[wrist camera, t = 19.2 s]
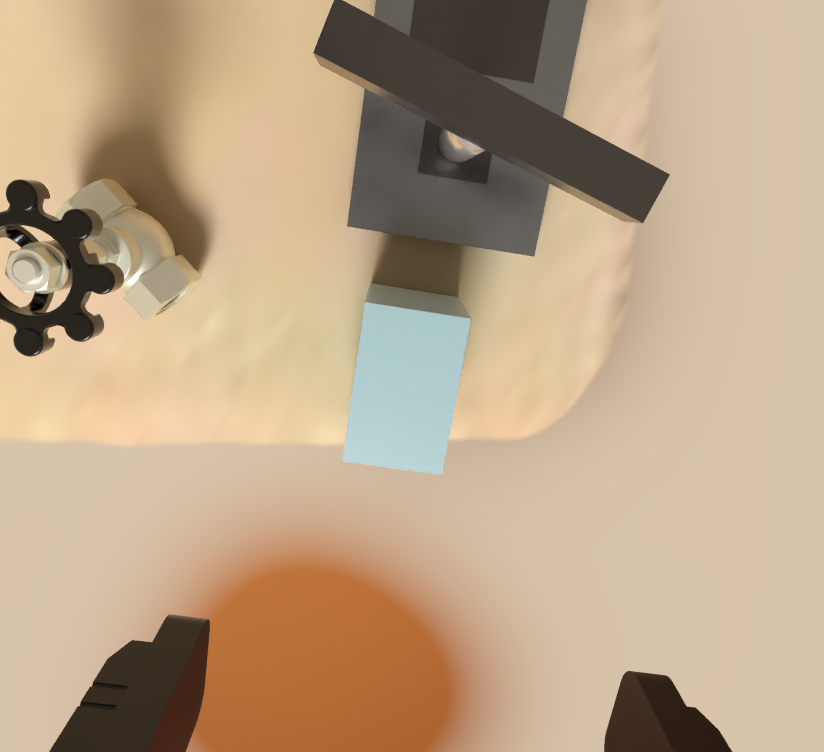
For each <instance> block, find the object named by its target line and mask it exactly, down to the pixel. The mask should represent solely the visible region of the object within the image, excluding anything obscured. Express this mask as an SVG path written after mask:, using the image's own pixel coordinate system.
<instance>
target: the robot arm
mask: <svg viewBox="0 0 824 752" xmlns="http://www.w3.org/2000/svg"><path fill="white" fill-rule="evenodd" d="M209 632H210V621H209V619H203V618H195V617H186V616H177V615H168V616H167V617H166V619H165V620H164V622H163V624H162V626H161V628H160V629H159V631H158V633H157V635H156V637H155V638H154V640H153V642H143V641H134V640H132V641H131V642H129V643H128V644H126V645H125V646H124V647H123V648H121V649H120V650H119V651H117V652H116V653H115V654H113V655H112V656H111V657H109V658H108V659H107V661H106V662H105V664H104V666H103V667H102V669H101V671H100V672H99V674H98V675H97V677H96V678H95V680H94V682H93V685H92V687H90V688H89V690H88V691H87V693H86V694H85V696H84V697H83V699H82V701H81V704H80V706H79V707H77V708H76V710H75V712H74V713H73V715H72V716H71V718H70V720H69V721H68V723H67V725H66V726H65V728H64V729H63V731H62V732H61V734H60V735H59V737H58V739H57V740H56V742H55V743H54V745H53V747H52V748H51V750H50V752H186V749H187V747H188V744H189V741H190V739H191V736H192V734H193V731H194V728H195V726H196V723H197V720H198V716H199V713H200V709H201V705H202V700H203V695H204V688H205V677H206V666H207V655H208V644H209ZM604 745H605V746H604V752H732V751H731V749H730V748H729V746H728V744H727V743H726V741H725V739H724V738H723V736H722V735H721V733H720V731H719V730H718V729H717V728H716V727H715V726H714V725H713V724H712V723H711V722H710V721H709V720H708V719H707V718H706V717H705V716H704V715H703V714H702V713H700V711H698V710H697V709H696V708H694V707H687V706H686V705H685V703H684V702H683V699H682V698H681V696H680V694H679V692H678V691H677V689H676V687H675V686H674V684H673V682H672V681H671V679H670V678H669V677H668V676H665V675H658V674H650V673H641V672H633V671H627V672H626V673H625V674H624V675H623V678H622V680H621V683H620V687H619V690H618V693H617V697H616V700H615V704H614V707H613V711H612V714H611V717H610V721H609V724H608V728H607V731H606V735H605V744H604Z"/></svg>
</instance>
